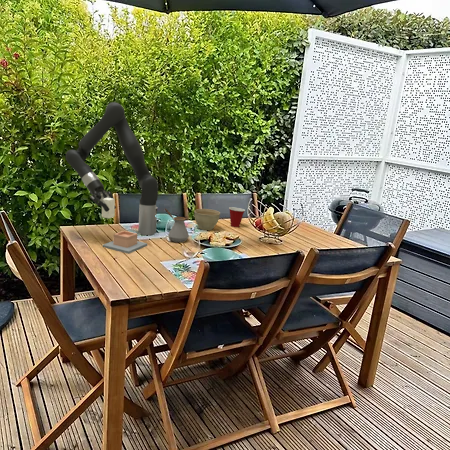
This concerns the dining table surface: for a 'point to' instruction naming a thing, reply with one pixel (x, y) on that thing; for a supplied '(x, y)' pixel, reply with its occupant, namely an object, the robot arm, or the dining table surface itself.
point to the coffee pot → (178, 229)
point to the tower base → (126, 250)
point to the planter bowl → (206, 218)
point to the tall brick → (111, 205)
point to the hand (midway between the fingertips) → (111, 209)
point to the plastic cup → (236, 216)
